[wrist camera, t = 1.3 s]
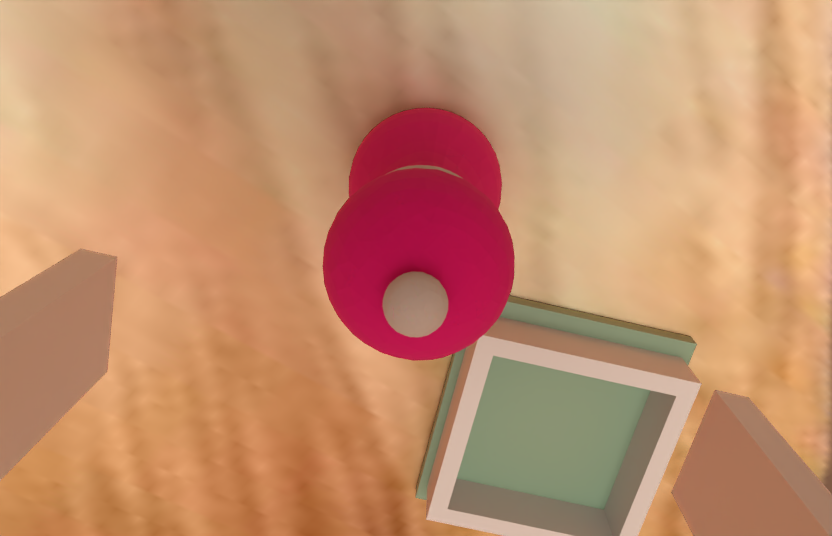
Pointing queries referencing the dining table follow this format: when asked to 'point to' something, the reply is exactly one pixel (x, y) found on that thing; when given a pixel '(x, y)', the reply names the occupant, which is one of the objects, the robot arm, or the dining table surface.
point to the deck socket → (557, 424)
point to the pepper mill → (420, 238)
